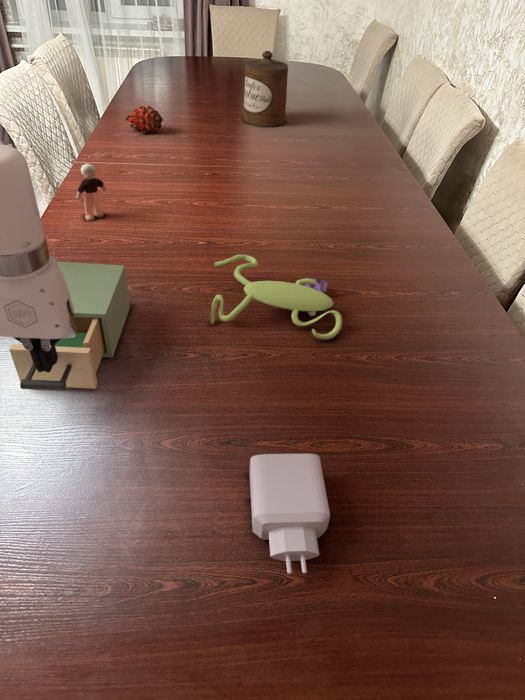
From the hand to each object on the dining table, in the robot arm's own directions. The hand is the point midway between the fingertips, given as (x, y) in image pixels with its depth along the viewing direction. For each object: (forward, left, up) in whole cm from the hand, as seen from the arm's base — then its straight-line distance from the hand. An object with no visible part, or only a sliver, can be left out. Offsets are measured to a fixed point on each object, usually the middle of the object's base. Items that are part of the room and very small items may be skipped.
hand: (47, 365), depth 75 cm
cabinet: (0, +17, -7) cm, 19 cm away
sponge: (0, +6, -5) cm, 8 cm away
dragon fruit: (-8, +121, -7) cm, 122 cm away
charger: (+35, -20, -7) cm, 41 cm away
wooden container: (+31, +141, -7) cm, 145 cm away
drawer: (0, +6, -6) cm, 9 cm away
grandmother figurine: (-9, +60, -7) cm, 61 cm away
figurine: (+33, +27, -7) cm, 43 cm away
